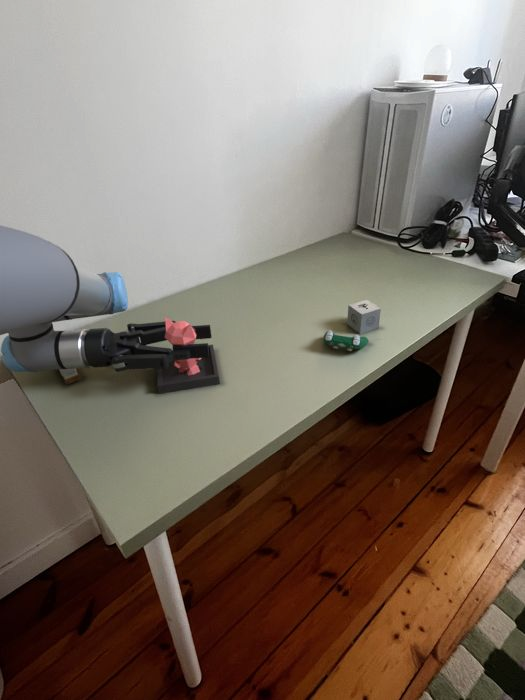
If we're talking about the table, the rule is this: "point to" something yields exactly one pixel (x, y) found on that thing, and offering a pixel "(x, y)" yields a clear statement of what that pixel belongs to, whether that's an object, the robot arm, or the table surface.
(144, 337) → the robot arm
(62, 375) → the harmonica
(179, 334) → the cat figurine
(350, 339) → the green elongated piece
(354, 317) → the dice cube
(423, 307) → the table surface
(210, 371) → the black tray
